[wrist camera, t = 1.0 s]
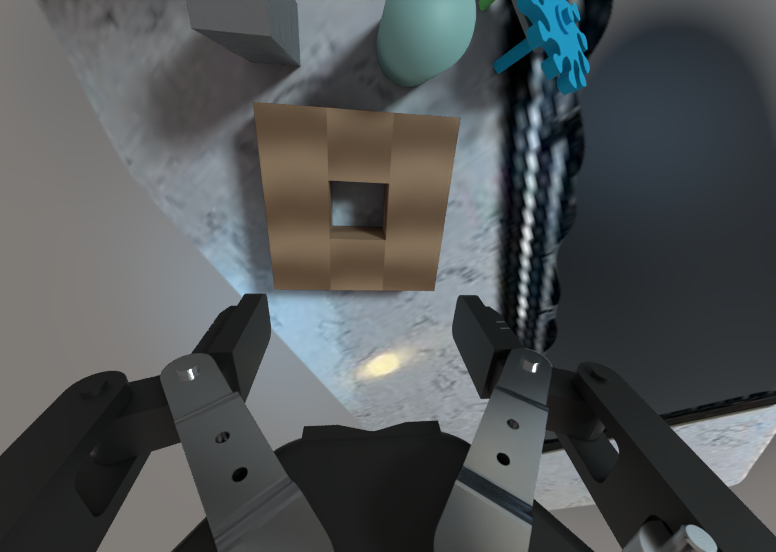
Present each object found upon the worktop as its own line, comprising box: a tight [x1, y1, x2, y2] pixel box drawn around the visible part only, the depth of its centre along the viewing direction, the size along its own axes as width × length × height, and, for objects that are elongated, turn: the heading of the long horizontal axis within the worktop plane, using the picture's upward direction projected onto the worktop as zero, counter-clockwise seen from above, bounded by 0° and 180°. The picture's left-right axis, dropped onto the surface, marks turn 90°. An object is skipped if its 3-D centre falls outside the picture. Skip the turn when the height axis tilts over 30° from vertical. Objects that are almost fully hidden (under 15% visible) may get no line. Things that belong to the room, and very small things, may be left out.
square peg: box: [186, 0, 300, 66], centre depth 20 cm, size 4×4×10 cm
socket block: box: [253, 102, 460, 291], centre depth 29 cm, size 16×16×4 cm
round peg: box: [376, 0, 476, 87], centre depth 22 cm, size 6×6×8 cm
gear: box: [478, 0, 590, 95], centre depth 24 cm, size 11×6×10 cm
